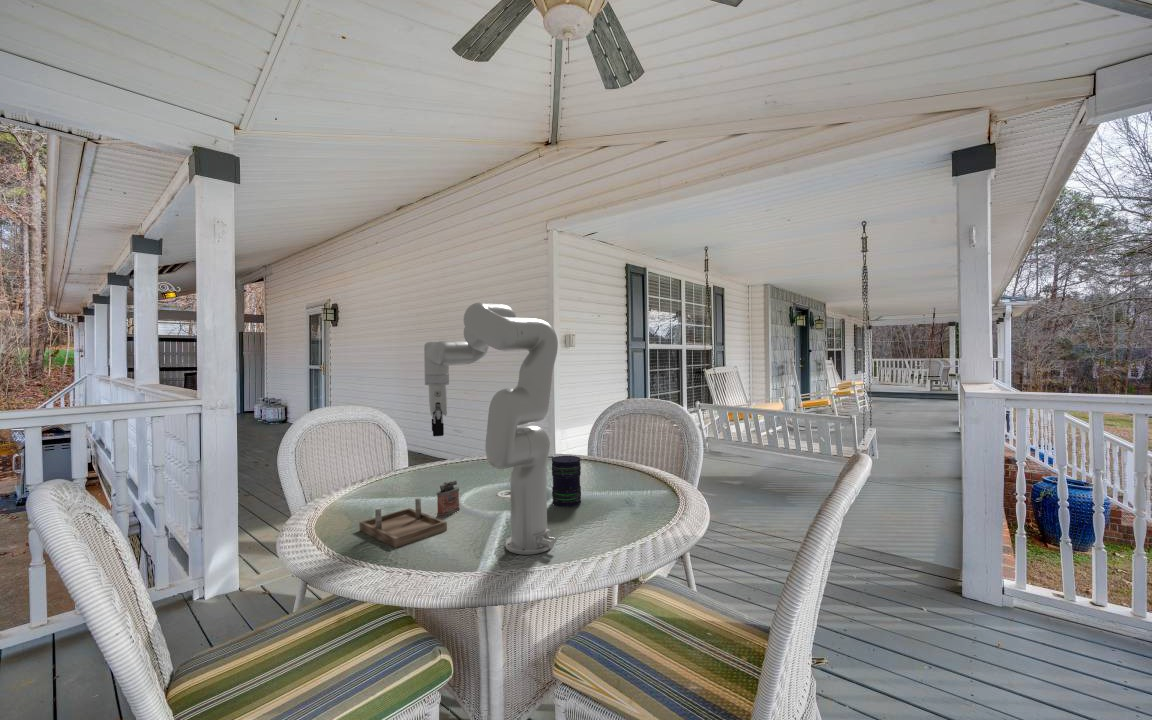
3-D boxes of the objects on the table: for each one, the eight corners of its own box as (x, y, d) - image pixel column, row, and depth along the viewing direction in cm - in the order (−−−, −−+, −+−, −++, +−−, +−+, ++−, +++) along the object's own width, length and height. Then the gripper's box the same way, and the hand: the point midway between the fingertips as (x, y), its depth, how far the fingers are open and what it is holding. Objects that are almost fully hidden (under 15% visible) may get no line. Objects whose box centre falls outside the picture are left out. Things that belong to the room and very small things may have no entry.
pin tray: (446, 530, 141) (446, 505, 141) (395, 547, 129) (394, 520, 129) (409, 515, 154) (409, 492, 154) (359, 530, 142) (359, 505, 142)
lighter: (441, 517, 152) (440, 485, 151) (434, 515, 154) (434, 484, 153) (462, 510, 158) (461, 480, 158) (455, 508, 160) (454, 478, 160)
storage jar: (547, 500, 167) (547, 457, 167) (573, 496, 171) (573, 454, 171) (559, 509, 158) (558, 463, 158) (586, 504, 162) (585, 460, 162)
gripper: (450, 381, 149) (451, 437, 150) (447, 378, 166) (447, 428, 166) (425, 382, 147) (426, 439, 147) (424, 378, 163) (424, 429, 164)
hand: (437, 433), depth 157 cm, fingers open, 9 cm apart
